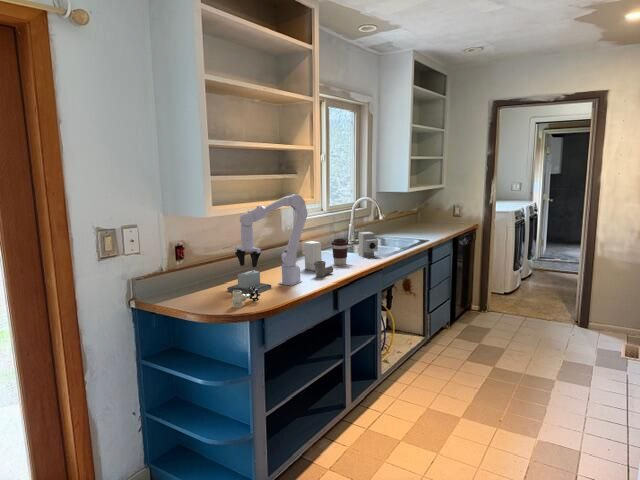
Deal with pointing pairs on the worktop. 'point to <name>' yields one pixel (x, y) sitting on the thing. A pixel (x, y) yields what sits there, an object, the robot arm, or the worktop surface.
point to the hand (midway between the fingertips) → (248, 266)
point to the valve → (244, 297)
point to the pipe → (322, 268)
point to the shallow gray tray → (260, 287)
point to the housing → (248, 279)
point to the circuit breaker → (367, 244)
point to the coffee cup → (339, 251)
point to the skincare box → (312, 254)
